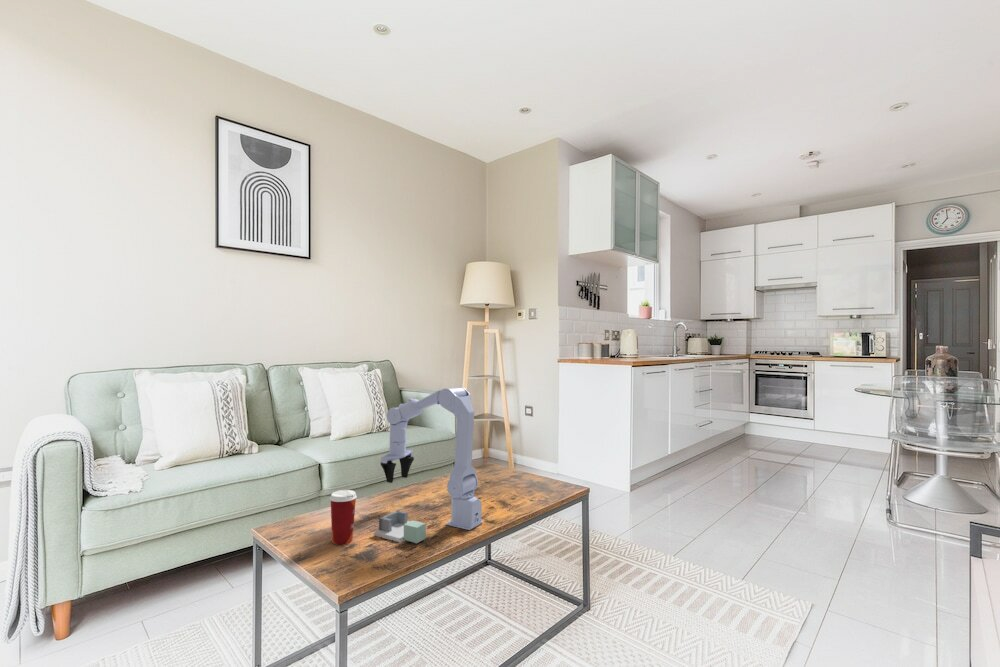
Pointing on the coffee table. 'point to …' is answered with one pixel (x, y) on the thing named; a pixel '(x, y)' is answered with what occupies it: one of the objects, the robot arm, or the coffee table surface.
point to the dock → (392, 526)
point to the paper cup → (342, 516)
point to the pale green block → (414, 531)
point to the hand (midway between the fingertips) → (397, 479)
